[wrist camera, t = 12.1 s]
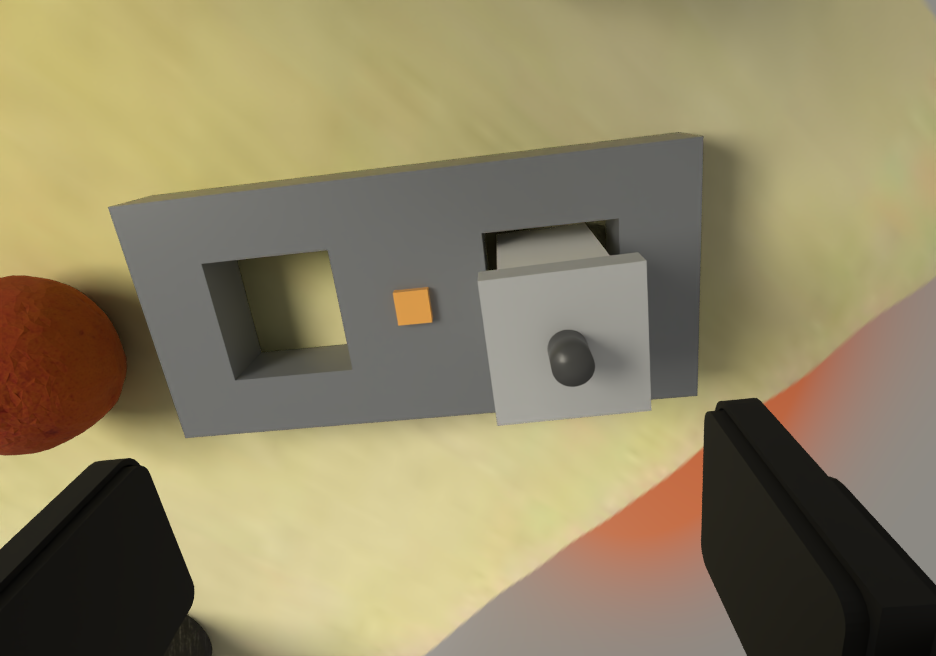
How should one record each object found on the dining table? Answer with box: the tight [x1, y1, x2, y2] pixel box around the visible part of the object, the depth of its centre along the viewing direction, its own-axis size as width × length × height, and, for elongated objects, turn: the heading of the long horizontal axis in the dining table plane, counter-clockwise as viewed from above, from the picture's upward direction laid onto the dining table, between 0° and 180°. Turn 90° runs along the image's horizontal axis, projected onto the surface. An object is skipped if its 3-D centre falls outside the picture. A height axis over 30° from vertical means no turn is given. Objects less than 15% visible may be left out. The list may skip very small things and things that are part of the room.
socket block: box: [108, 132, 703, 438], centre depth 29 cm, size 12×26×4 cm, turn 97°
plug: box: [478, 223, 651, 426], centre depth 24 cm, size 6×6×12 cm
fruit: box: [0, 276, 127, 455], centre depth 29 cm, size 9×9×8 cm
